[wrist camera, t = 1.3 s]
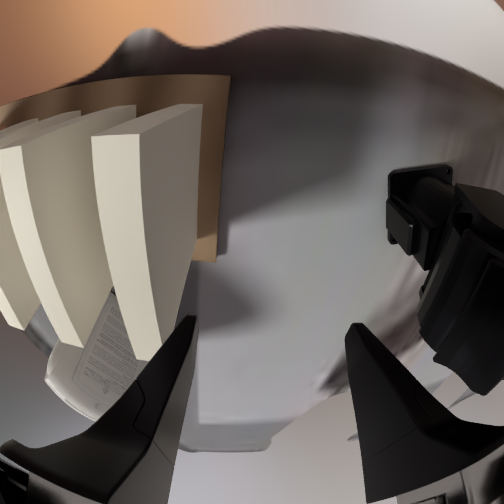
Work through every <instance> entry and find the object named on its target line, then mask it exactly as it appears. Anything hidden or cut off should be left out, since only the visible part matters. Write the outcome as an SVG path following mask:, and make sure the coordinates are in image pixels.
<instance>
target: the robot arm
mask: <svg viewBox="0 0 504 504" xmlns="http://www.w3.org/2000/svg"><path fill="white" fill-rule="evenodd" d="M447 170H448V172H447ZM446 172H447V173H446ZM452 175H453V169H452V167H450V166H449V165H438V166H430V167H422V168H414V169H407V170H400V171H393V172H391V173H390V174H389V175H388V199H387V201H386V228H387V229H388V241H389V242H390V244H398V243H399V245H400V246H401V247H402V249H403V250H404V251H405V253H406V254H407V255H409V256H410V255H413V256H414V258H415V259H416V260H417V262H418V263H419V264H420V266H421V267H422V269H423V270H424V271H427V270H429V273H428V275H427V278H426V280H425V282H424V285H423V286H421V289H420V291H419V295H420V302H419V304H418V311H417V316H418V320H419V324H420V329H419V332H420V334H421V336H422V337H423V339H424V340H425V342H426V343H427V344H428V345H429V346H430V347H431V348H432V349H433V350H434V351H435V352H437V353H436V354H435V356H434V357H433V361H434V362H436V363H439V364H441V365H444V366H446V367H448V368H449V369H451V370H452V371H454V372H455V373H456V374H457V375H458V376H459V377H460V378H461V379H462V380H463V381H464V382H465V383H466V385H467V386H468V387H469V388H470V389H471V390H472V391H473V392H475V393H478V394H480V395H483V396H485V395H487V394H488V393H489V392H490V391H491V390H492V389H493V388H494V387H495V386H496V385H497V384H498V383H499V382H500V381H501V380H504V195H502V194H501V193H499V192H497V191H495V190H490V189H485V188H480V187H475V186H470V185H464V184H458V183H456V184H455V187H454V186H453V185H452ZM395 176H396V179H395V180H393V177H395ZM393 238H394V239H393ZM392 239H393V240H392ZM197 340H198V317H197V316H196V315H186V316H185V317H184V318H183V319H182V321H181V322H180V323H179V324H178V326H177V327H176V328H175V329H174V331H173V332H172V333H171V334H170V336H169V337H168V338H167V339H166V341H165V342H164V343H163V344H162V346H161V347H160V348H159V350H158V351H157V352H156V353H155V355H154V356H153V357H152V358H151V360H150V361H149V362H148V364H147V365H146V366H145V367H144V369H143V370H142V371H141V372H140V374H139V375H138V376H137V378H136V379H135V380H134V381H133V383H132V384H131V385H130V386H129V388H128V389H127V390H126V391H125V392H124V394H123V395H122V396H121V397H120V398H119V399H118V400H117V401H116V402H115V403H114V404H113V405H112V406H111V407H110V408H109V409H108V410H107V411H106V412H105V413H104V414H103V415H102V416H101V417H100V418H99V419H98V420H97V421H96V422H95V423H94V424H93V425H92V426H91V427H90V428H88V429H87V430H86V431H84V432H83V433H81V434H79V435H76V436H74V437H71V438H69V439H65V440H63V441H60V442H57V443H54V444H51V445H48V446H45V447H41V448H28V447H26V446H24V445H22V444H21V443H19V442H17V441H15V440H13V439H12V440H9V441H7V442H6V443H4V444H3V445H1V447H0V453H1V454H3V455H4V456H5V457H7V458H8V459H10V460H11V461H13V462H15V463H16V464H18V465H20V466H21V467H23V468H25V469H26V470H28V471H30V472H29V473H28V472H26V471H24V470H22V469H20V468H18V467H16V466H14V465H12V464H10V463H8V462H6V461H5V460H3V459H1V458H0V504H167V503H168V498H169V492H170V487H171V481H172V476H173V471H174V465H175V460H176V455H177V450H178V445H179V440H180V435H181V431H182V426H183V421H184V416H185V412H186V407H187V402H188V398H189V393H190V389H191V384H192V380H193V375H194V370H195V360H196V350H197ZM345 350H346V361H347V372H348V378H349V384H350V389H351V394H352V399H353V405H354V410H355V417H356V422H357V429H358V436H359V442H360V449H361V457H362V466H363V474H364V484H365V493H366V502H367V504H368V503H373V502H376V501H380V500H384V499H387V498H391V497H394V496H396V497H397V503H398V504H504V426H493V425H486V424H480V423H474V422H468V421H464V420H461V419H459V418H457V417H456V416H455V415H453V414H452V413H451V412H450V411H449V410H448V409H447V408H445V407H444V406H443V405H442V404H441V403H440V402H438V400H436V399H435V398H434V397H433V396H432V395H431V394H430V393H429V392H428V391H427V390H426V389H425V388H424V387H423V386H422V385H421V384H420V382H419V381H418V380H416V378H415V377H414V376H413V375H412V374H411V373H410V372H409V371H408V370H407V369H406V368H405V367H404V366H403V364H402V363H401V362H400V361H399V360H398V359H397V358H396V357H395V356H394V355H393V354H392V353H391V352H390V351H389V350H388V349H387V348H386V347H385V346H384V345H383V344H382V343H381V341H380V340H379V339H378V338H377V337H376V336H375V335H374V334H373V333H372V332H371V331H370V330H369V329H368V328H367V327H366V326H365V325H364V324H363V323H352V324H351V326H350V328H349V330H348V332H347V334H346V336H345Z"/></svg>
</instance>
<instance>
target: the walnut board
mask: <svg viewBox="0 0 504 504" xmlns="http://www.w3.org/2000/svg"><path fill="white" fill-rule="evenodd" d="M230 81H231V76H225V75H200V74H175V75H151V76H137V77H126V78H117V79H109V80H102V81H96V82H90V83H84V84H79V85H73V86H69V87H64V88H60V89H55V90H51V91H47V92H43V93H40V94H36V95H33V96H29V97H26V98H23V99H20V100H17V101H14V102H11V103H8V104H5V105H2V106H0V128H1V127H4V126H6V128H8V127H10V126H13V125H16V124H18V123H21V122H24V121H27V120H31V119H35V118H38V121H41V120H44V119H47V118H50V117H53V116H56V115H59V114H62V113H66V112H72V111H79V110H81V116H83V115H86V114H90V113H93V112H97V111H100V110H104V109H108V108H111V107H115V106H126V105H136V118H138V117H141V116H143V115H146V114H149V113H152V112H155V111H158V110H161V109H164V108H167V107H171V106H174V105H177V104H203V111H202V124H201V139H200V156H199V178H198V210H197V241H196V245H195V248H194V252H193V256H192V259H191V260H194V261H206V262H216V257H217V239H218V222H219V206H220V191H221V177H222V164H223V152H224V141H225V130H226V119H227V109H228V99H229V90H230Z"/></svg>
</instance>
